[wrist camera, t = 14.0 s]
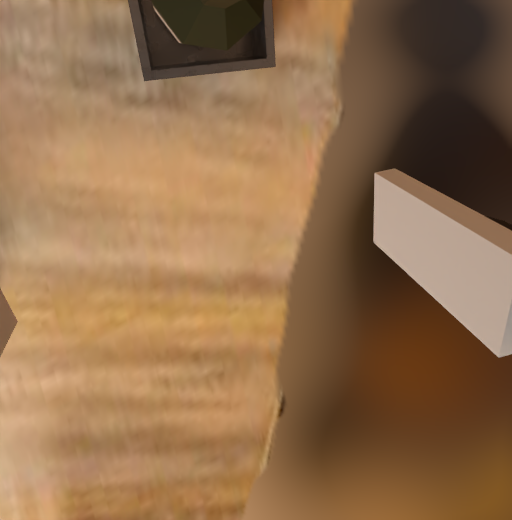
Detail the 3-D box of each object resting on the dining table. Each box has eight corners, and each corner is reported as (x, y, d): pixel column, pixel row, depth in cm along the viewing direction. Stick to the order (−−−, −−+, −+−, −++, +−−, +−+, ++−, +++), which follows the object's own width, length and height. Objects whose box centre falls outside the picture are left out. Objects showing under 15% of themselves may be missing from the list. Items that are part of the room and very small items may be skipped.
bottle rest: (147, 74, 45) (144, 80, 38) (121, -57, 39) (112, -78, 32) (259, 62, 47) (275, 66, 40) (250, -66, 41) (267, -87, 34)
